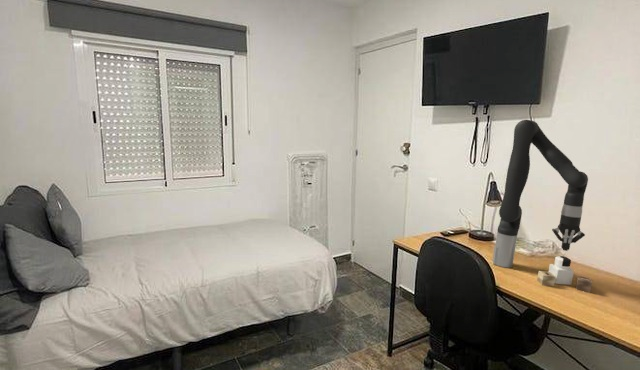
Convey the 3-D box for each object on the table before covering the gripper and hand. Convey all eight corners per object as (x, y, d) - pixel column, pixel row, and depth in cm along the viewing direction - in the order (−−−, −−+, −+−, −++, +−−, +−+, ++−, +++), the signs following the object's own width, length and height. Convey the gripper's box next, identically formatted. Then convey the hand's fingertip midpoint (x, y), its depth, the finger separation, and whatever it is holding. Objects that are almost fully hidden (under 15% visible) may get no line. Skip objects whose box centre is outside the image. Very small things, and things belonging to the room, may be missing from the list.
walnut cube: (576, 289, 153) (578, 279, 152) (575, 285, 157) (577, 275, 156) (589, 293, 150) (592, 282, 150) (589, 289, 154) (591, 278, 154)
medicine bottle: (562, 278, 164) (566, 255, 162) (571, 285, 157) (576, 261, 155) (547, 277, 165) (551, 254, 163) (555, 283, 158) (560, 259, 156)
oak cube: (541, 285, 156) (543, 275, 155) (537, 280, 161) (538, 270, 160) (553, 286, 155) (555, 276, 154) (548, 281, 160) (550, 271, 159)
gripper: (556, 214, 154) (550, 250, 157) (591, 218, 150) (584, 255, 153) (552, 210, 161) (546, 245, 164) (585, 214, 156) (579, 249, 160)
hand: (565, 250), depth 158 cm, fingers closed
